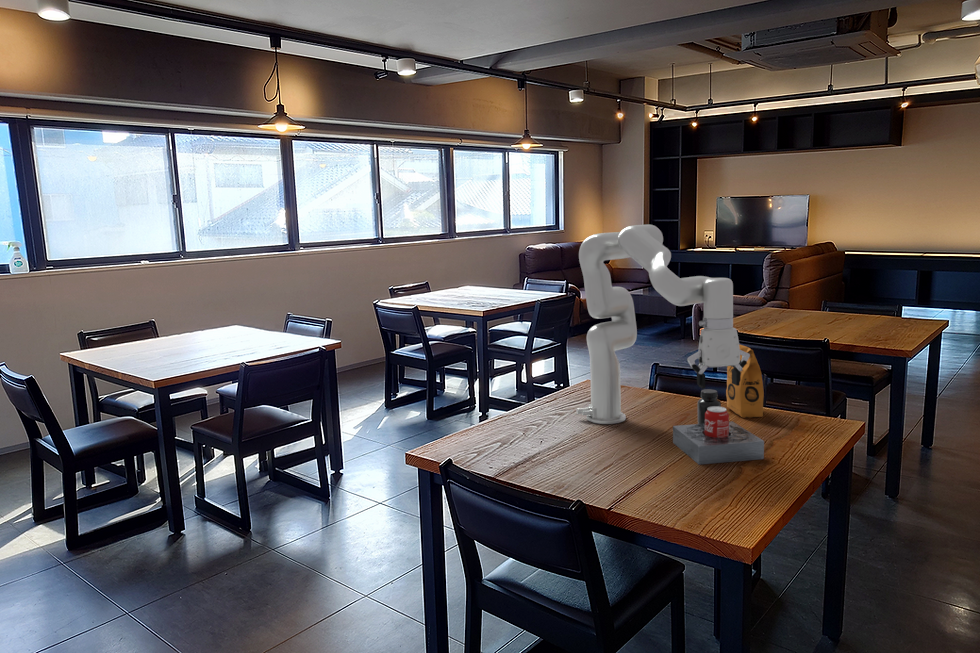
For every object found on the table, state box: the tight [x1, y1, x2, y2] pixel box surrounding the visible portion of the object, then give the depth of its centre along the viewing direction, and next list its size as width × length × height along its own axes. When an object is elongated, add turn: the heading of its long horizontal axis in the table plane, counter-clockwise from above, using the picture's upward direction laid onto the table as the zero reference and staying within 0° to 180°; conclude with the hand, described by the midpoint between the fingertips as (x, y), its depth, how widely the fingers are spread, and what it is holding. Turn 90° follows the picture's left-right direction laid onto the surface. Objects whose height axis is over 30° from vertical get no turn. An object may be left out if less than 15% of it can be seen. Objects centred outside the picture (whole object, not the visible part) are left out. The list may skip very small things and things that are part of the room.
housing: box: [672, 420, 765, 466], centre depth 189 cm, size 18×18×5 cm
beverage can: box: [705, 406, 730, 438], centre depth 189 cm, size 6×6×12 cm
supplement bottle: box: [697, 388, 722, 424], centre depth 207 cm, size 7×7×12 cm
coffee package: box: [725, 343, 765, 419], centre depth 221 cm, size 10×12×22 cm
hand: (718, 386), depth 186 cm, fingers open, 9 cm apart
